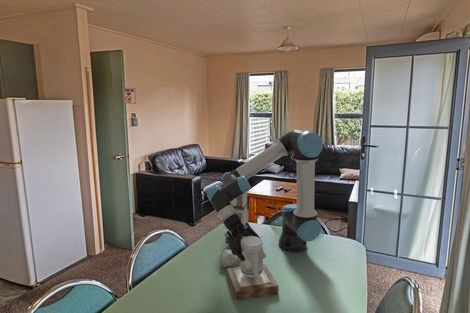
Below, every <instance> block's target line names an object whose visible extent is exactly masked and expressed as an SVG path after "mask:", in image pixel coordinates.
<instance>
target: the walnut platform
mask: <svg viewBox="0 0 470 313" xmlns="http://www.w3.org/2000/svg"><path fill="white" fill-rule="evenodd" d="M226 268H227V269H226V274H227V276H226V277H227V279H228V283H229V285H230V289H231V291H232V293H233V296H234V299H235V301H244V300H251V299H258V298H265V297H271V296H277V295H279V284H278V282H277V280H276V279H275V277H274V276H273V274H272V273H271V271H270V269H269V268H268V266H267V264H266V263H263V272H262V274H261V275H260V276H258V277H254V278H250V277H246V276H244V275H243V274H242V273H241V266H237V267H236V266H235V267H226Z"/></svg>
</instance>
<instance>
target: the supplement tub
mask: <svg viewBox="0 0 470 313" xmlns="http://www.w3.org/2000/svg"><path fill="white" fill-rule="evenodd" d="M259 237H260V236H259ZM259 237H255V236H248V237H244V238H242V239H241V243H240V245H241V251H242V252H243V251H244V253H245V255H246V256H247V258H248V260H249V261H250V263H251V265H252V266H250V267H249V268H248V269H247V268H246V266H245V264H244V263H243V261H241V260H240V267H241V273H242V274H243V275H244V276H246V277H250V278H254V277H258V276H260V275H261V274H262V272H263V264H264V259H263V250H264V246H263V239H262V238H261V237H260V238H259ZM242 252H241V253H242Z"/></svg>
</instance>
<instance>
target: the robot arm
mask: <svg viewBox="0 0 470 313" xmlns="http://www.w3.org/2000/svg"><path fill="white" fill-rule="evenodd" d="M323 147H324V143H323V139H322V137H321V136H320V135H319V134H318V133H316V132H314V131H311V130H306V129H300V128H297V129H293V130H291V131H288V132H287V133H285V134H284V135H282V136H281V137H279V138H278V139H276V140H275V142H274V144H272V145H271V146H268V147H267V148H266V149H264V150H263V151H261V152H259V153H258V154H256V155H255V156H254V157H252V158H251V159H249V160H248V161H246V162H245V163H243V164H241V165H240V166H239V167H237V168H236V169H234V170H232V171H229V172H227V171H226V172H225V173H224V174H222V177H221V182H222V185H223V187H221V186H220V185H214V186H212V187H211V188H210V189H208V190H207V193H206V197H207V198H208V200H209V202H210V204H211V205H212V207H213V209H214V210H215V212H216V213H217V215H218V217H219V219H220V221H222V224H223V225H224V227H225V229H226V230H227V231H226V232H225V233H224V234H223V235H224V237H225V239H226V238H227V240H228V242H227V243H228V245H229V248H230V250H231V251H232V254H233V255H236V256H238V259H239V260H240V262H241V261H243V263H244V264H245V266H246V268H247V269H248V268H249V267H250V266H252V265H251V263H250V261H249V260H248V258H247V256H246V255H245V253H244V251H243V252H242V251H241V245H240V244H241V243H240V239H239V237H240V236H244V237H248V236H255V237H259V238H261V237H260V236H259V234H258V233H257V232H256V231H255V230H254V229H253V228H252V227H251V225H250V223H249V222H247V223H246V224H242V223H241V219H240V217H239V216H238V214H236V211H235V209H234V208H233V206H232V205H231V203H230V202H231V201H233V200H234V199H236V198H237V197H239V196H241V195H242V194H244V193H246V192H247V193H248V192H249V190H251V187H252V186H251V185H250V182H249V181H248V179H250V178H251V177H253V176H254V175H256V174H258V173H259V172H261V171H262V170H263V169H265V168H267V167H269V166H270V165H271V164H273V163H275V162H276V161H278V159H281V158H282V157H284V156H288V155H290V154H292V153H293V155H292V156H293V160H294V161H295V162H296V203H294V204H293V203H292V204H291V203H290V204H286V205H283V207H282V214H281V216H282V218H281V220H282V221H281V222H282V224H281V228H282V229H281V233H280V236H279V240H278V246H279V248H281V249H282V250H284V251H287V252H293V253H294V252H302V251H304V250H306V249H307V244H308V243H309V242H313V241H315V240H317V238H319V237H320V234H321V232H322V225H321V223H320V222H319V221H318V212H317V211H316V210H315V173H316V170H315V169H316V162H317V161H318V160H319V155H320V153H321V152H322V151H323ZM244 232H245V233H244ZM231 234H232V235H233V237H232V235H231ZM241 252H242V253H241ZM267 257H268V255H267V254H266V252H265V251H264V249H263V260H264V259H265V258H267Z"/></svg>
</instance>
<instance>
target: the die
mask: <svg viewBox="0 0 470 313" xmlns="http://www.w3.org/2000/svg"><path fill="white" fill-rule="evenodd" d="M220 260H221V263H222V264H223V267H224V268H235V267H236V266H237V263H238V261H239V256H238V255H237V256H236V255H233V254H232V251H231V249H224V251H223V252H222V255H221V259H220Z"/></svg>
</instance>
